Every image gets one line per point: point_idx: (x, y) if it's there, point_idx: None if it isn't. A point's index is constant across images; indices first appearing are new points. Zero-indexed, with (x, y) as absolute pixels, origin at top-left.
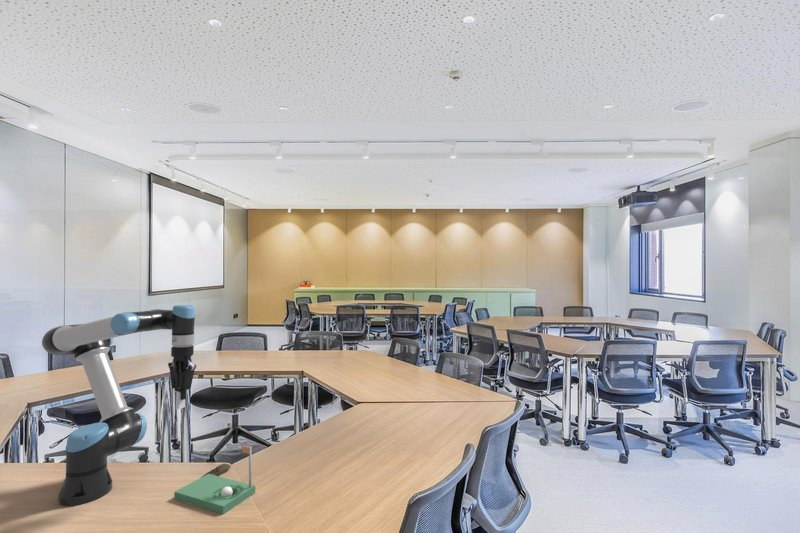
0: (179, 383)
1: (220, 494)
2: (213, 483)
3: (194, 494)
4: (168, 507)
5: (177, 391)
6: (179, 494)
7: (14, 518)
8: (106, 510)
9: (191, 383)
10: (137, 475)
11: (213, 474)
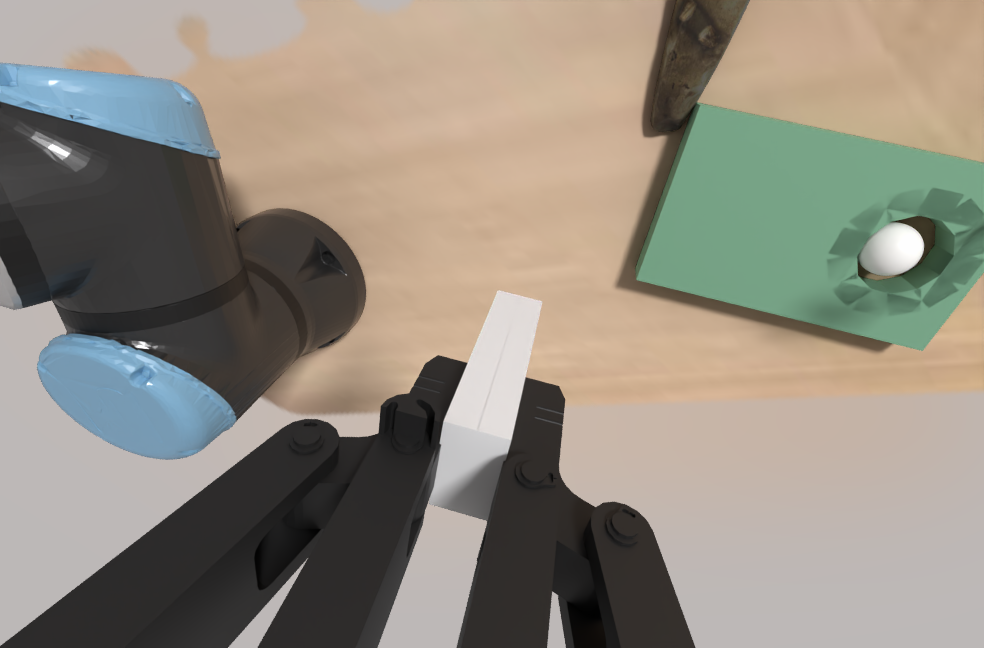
0: (392, 582)
1: (864, 268)
2: (784, 194)
3: (739, 288)
4: (651, 316)
5: (449, 508)
6: (666, 285)
7: (269, 390)
8: (457, 346)
9: (688, 636)
10: (327, 126)
11: (711, 70)
